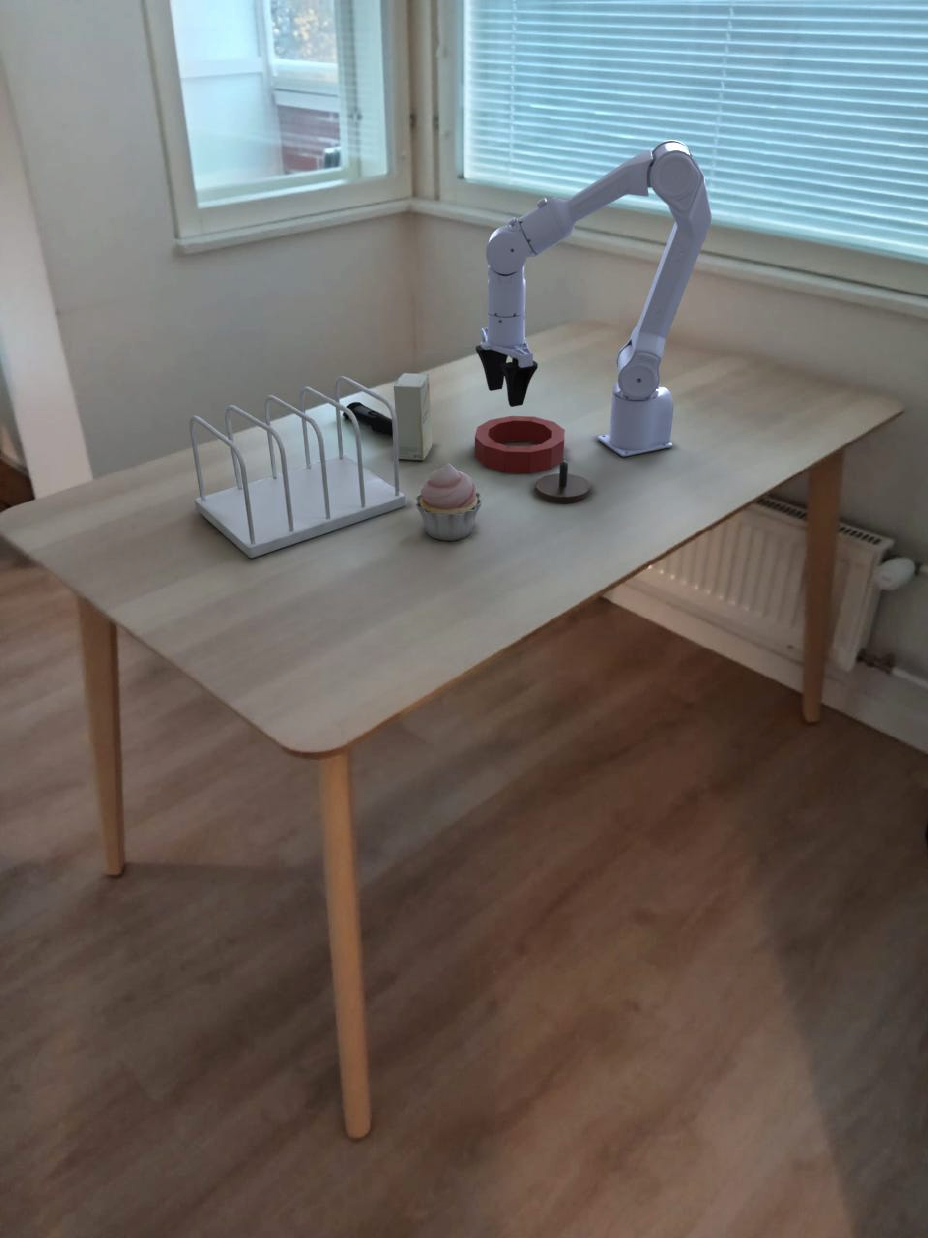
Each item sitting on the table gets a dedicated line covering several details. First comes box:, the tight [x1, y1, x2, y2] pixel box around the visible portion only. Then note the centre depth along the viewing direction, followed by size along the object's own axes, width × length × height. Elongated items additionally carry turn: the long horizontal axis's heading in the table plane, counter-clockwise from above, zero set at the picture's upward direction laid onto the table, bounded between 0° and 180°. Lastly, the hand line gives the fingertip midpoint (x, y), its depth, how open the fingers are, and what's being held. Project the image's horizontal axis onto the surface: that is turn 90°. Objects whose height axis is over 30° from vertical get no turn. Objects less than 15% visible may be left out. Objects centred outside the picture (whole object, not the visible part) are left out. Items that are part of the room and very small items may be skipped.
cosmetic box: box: [393, 372, 433, 461], centre depth 150 cm, size 6×4×12 cm
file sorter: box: [188, 375, 407, 559], centre depth 133 cm, size 25×17×16 cm
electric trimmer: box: [342, 401, 393, 438], centre depth 160 cm, size 4×16×3 cm, turn 42°
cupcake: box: [414, 462, 483, 542], centre depth 129 cm, size 9×9×10 cm
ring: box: [474, 415, 566, 475], centre depth 151 cm, size 14×14×4 cm
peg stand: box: [535, 460, 591, 504], centre depth 140 cm, size 8×8×5 cm
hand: (505, 397), depth 153 cm, fingers open, 7 cm apart
